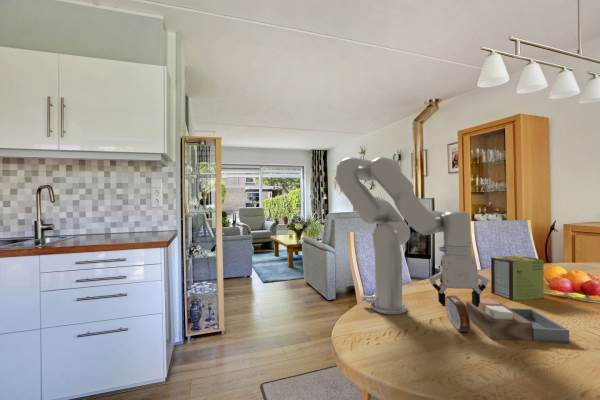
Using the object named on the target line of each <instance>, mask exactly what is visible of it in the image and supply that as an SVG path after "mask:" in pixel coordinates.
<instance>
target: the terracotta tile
mask: <svg viewBox="0 0 600 400" xmlns="http://www.w3.org/2000/svg"><path fill="white" fill-rule="evenodd" d="M499 303H500V302H497V301H496V300H494V299H493V298H488V297H487V298H483V297H482V298H481V297H480V303H479V307H480V308H481V309H482V310H486V306H500V304H499Z"/></svg>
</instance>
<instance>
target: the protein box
mask: <svg viewBox="0 0 600 400" xmlns="http://www.w3.org/2000/svg"><path fill="white" fill-rule="evenodd" d="M544 263H545V262H544V259H540V258H535V257H531V256H530V257H529V256H525V255H504V256H502V255H501V256H491V257H490V264H491V265H490V270H491V271H490V273H491V274H490V275H491V278H490V279H491V281H490V283H491V284H490V286H491V287H490V288H491V294H493V295H496V296H499V297H502V298H503V299H507V300H510V301H513V302H514V301H525V300H535V299H536V300H537V299H544V298H545V297H544V296H545V295H544V294H545V293H544V274H545V273H544V271H545V270H544Z"/></svg>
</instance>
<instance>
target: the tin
mask: <svg viewBox="0 0 600 400" xmlns="http://www.w3.org/2000/svg"><path fill="white" fill-rule="evenodd" d="M445 299H446V314H447V317H448V319H449V321H450V322H451V324H452V325H453V326H454V328H455V329H456V331H458V332H463V333H469V332H470V329H471V320H470V319H469V314H468V311H467V308H466V303H464V302H463V301H462V300H461V299H460V297H458V296H457V295H447V296H445Z"/></svg>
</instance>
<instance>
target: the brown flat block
mask: <svg viewBox="0 0 600 400" xmlns="http://www.w3.org/2000/svg"><path fill="white" fill-rule="evenodd" d="M498 303H499V304H500V306H503V307H505V308H506V309H508V310H509V311H511V312H512V313H513V320H512V319H494V318H493V317H491V316H490V315H489V314H487V313H486V310H482V309H481V308H480V307H476V306H475V305H473V304H472V301H466V302H465V306H466V308H467V311H468V314H469V320H470V322H472V323H473V324H474V325H475V326H476V327H477V328H478V329H479V330H480V331H481V332H483V334H484V335H485V336H487V338H489V339H490V340H491V339H494V340H506V341H507V340H510V341H526V342H527V341H528V342H533V340H532V323H531V322H530V321H528V320H527V319H525V318H523V317H522V316H520V315H519V314H517V313H516V312H514V311H513V310H511V309H509V308H510V307H508V306H506V304H503V303H501V302H498Z"/></svg>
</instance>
